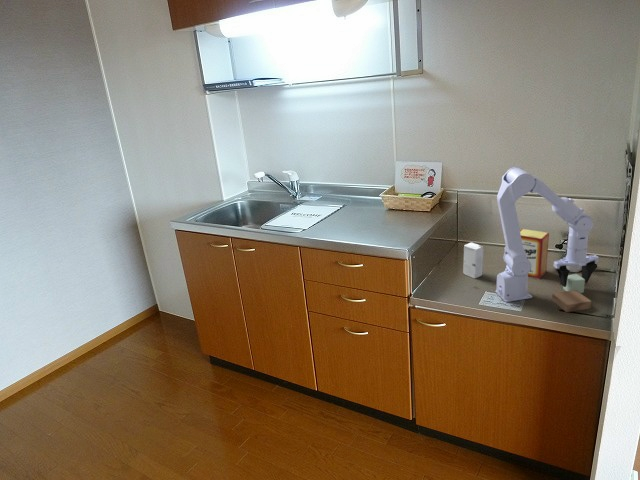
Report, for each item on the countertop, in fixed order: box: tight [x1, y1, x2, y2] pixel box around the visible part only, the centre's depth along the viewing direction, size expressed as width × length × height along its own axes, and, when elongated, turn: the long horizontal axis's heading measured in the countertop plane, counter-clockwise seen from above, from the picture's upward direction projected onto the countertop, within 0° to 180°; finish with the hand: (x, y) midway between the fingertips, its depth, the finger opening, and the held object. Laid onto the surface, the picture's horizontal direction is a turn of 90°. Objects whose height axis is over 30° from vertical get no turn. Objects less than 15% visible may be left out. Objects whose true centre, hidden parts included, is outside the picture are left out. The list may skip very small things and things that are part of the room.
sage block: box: [562, 273, 586, 294], centre depth 157 cm, size 4×4×5 cm
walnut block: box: [551, 290, 592, 313], centre depth 150 cm, size 8×8×3 cm
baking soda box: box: [520, 228, 550, 279], centre depth 170 cm, size 10×6×16 cm
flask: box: [564, 254, 582, 273], centre depth 171 cm, size 7×7×10 cm
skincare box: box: [462, 242, 484, 279], centre depth 175 cm, size 6×4×12 cm
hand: (573, 283), depth 157 cm, fingers open, 7 cm apart
